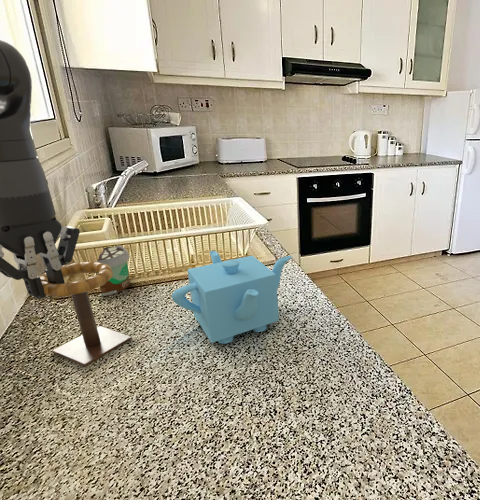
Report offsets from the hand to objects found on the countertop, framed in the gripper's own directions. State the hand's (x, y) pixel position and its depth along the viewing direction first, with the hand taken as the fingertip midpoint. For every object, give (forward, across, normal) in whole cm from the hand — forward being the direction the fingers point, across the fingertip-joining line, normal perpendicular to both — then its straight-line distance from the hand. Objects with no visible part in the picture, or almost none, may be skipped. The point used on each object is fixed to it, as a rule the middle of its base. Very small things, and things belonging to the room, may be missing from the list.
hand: (48, 293), depth 61 cm
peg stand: (+14, -4, 0) cm, 15 cm away
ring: (-1, -4, 0) cm, 5 cm away
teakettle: (+14, -24, +19) cm, 34 cm away
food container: (+14, -24, -18) cm, 33 cm away
